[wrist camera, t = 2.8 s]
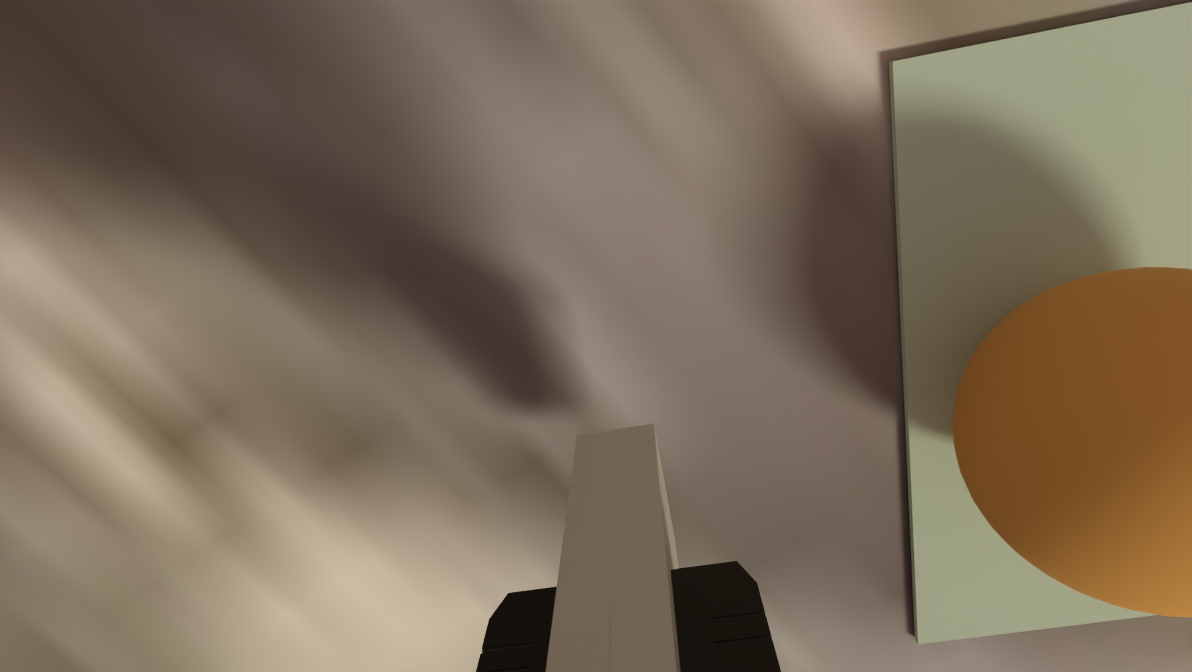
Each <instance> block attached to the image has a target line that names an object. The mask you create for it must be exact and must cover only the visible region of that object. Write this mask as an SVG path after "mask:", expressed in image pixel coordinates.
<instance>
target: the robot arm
mask: <svg viewBox="0 0 1192 672" xmlns="http://www.w3.org/2000/svg"><path fill="white" fill-rule="evenodd" d="M476 672H781V670H780V666H779V663H778V659H777V655H776V652H775V648H774V644H773V641H772V638H771V633H770V629H769V626H768V622H767V618H766V616H765V611H764V607H763V603H762V600H761V596H760V592H759V589H758V585H757V582H756V581H755V580H754V579H753V578H752V577H751V576H750V575H749V574H748V573H747V572H746V571H745V570H744V568H743V567H742V566H741V565H740V564H739V563H738V562H737V561H733V562H726V563H718V564H710V565H703V566H695V567H687V568H680V569H678V562H677V553H676V545H675V538H674V533H673V527H672V521H671V516H670V510H669V505H668V499H667V494H666V488H665V483H664V477H663V472H662V466H661V460H660V455H659V449H658V444H657V438H656V433H655V427H654V424H648V425H642V426H635V427H629V428H622V429H615V430H609V431H602V432H596V433H589V434H583V435H577V438H576V446H575V454H574V461H573V469H572V476H571V484H570V491H569V499H568V506H567V514H566V521H565V529H564V537H563V544H562V552H561V559H560V567H559V574H558V582H557V587H551V588H543V589H536V590H528V591H520V592H513V593H508V594H507V596H506V597H505V598H504V600H503V601H502V603H501V604H500V605H499V607H498V608H497V609H496V611H495V612H494V614H493V615H492V616H491V618H490V619H489V622H488V626H487V630H486V634H485V638H484V642H483V646H482V654H480V658H479V662H478V666H477V670H476Z"/></svg>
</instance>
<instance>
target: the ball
mask: <svg viewBox="0 0 1192 672" xmlns="http://www.w3.org/2000/svg"><path fill="white" fill-rule="evenodd" d="M952 430H953V441H954V448H955V453H956V458H957V461H958V465H959V469H960V473H961V475H962V477H963V479H964V482H965V484H966V486H967V488H968V491H969V493H970V495H971V497H972V499H973V501H974V502H975V504H976V505H977V507H978V508H979V510H980V512H981V513H982V514H983V516H984V517H985V519H986V520H987V521H988V523H989V524H990V526H991V527H992V528H993V529H994V530H995V531H996V532H997V533H998V534H999V536H1000V537H1001V538H1002V539H1003V540H1004V541H1005V542H1006V543H1007V544H1008V545H1009V546H1010V547H1011V548H1012V549H1013V550H1014V551H1015V552H1017V553H1018V554H1019V555H1020V556H1022V557H1023V558H1024V559H1026V560H1027V561H1028V562H1029V563H1031V564H1032V565H1033V566H1035V567H1036V568H1038V569H1039V570H1040V571H1042V572H1043V573H1045V574H1046V575H1048V576H1050V577H1052V578H1053V579H1055V580H1057V581H1059V582H1060V583H1062V584H1064V585H1066V586H1068V587H1070V588H1072V589H1074V590H1076V591H1078V592H1080V593H1082V594H1085V595H1087V596H1090V597H1092V598H1095V599H1098V600H1101V601H1104V602H1106V603H1109V604H1112V605H1115V606H1119V607H1123V608H1127V609H1130V610H1134V611H1140V612H1145V613H1151V614H1157V615H1164V616H1171V617H1192V269H1187V268H1171V267H1140V268H1130V269H1121V270H1112V271H1105V272H1101V273H1097V274H1092V275H1088V276H1084V277H1081V278H1078V279H1075V280H1073V281H1070V282H1067V283H1064V284H1061V285H1058V286H1056V287H1053V288H1051V289H1049V290H1047V291H1045V292H1043V293H1041V294H1039V295H1037V296H1035V297H1034V298H1032V299H1030V300H1029V301H1027V302H1025V303H1024V304H1022V305H1021V306H1019V307H1018V308H1017V309H1015V310H1014V311H1013V312H1011V313H1010V314H1009V315H1008V316H1006V317H1005V318H1004V319H1003V320H1002V321H1001V322H1000V323H999V324H998V325H997V326H996V327H995V328H994V329H993V330H992V331H991V332H990V333H989V334H988V335H987V337H986V338H985V339H984V340H983V341H982V342H981V344H980V345H979V347H978V348H977V350H976V351H975V353H974V354H973V356H972V357H971V359H970V361H969V363H968V365H967V367H966V369H965V371H964V373H963V375H962V378H961V381H960V383H959V386H958V389H957V393H956V398H955V403H954V412H953V429H952Z"/></svg>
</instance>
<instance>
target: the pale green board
mask: <svg viewBox="0 0 1192 672" xmlns="http://www.w3.org/2000/svg"><path fill="white" fill-rule="evenodd" d="M889 78H890V100H891V122H892V144H893V166H894V189H895V211H896V233H897V255H898V277H899V299H900V322H901V344H902V366H903V388H904V410H905V432H906V455H907V477H908V499H909V521H910V543H911V565H912V587H913V610H914V632H915V640H916V642H917V643H918V644H925V643H933V642H941V641H949V640H957V639H966V638H974V637H982V636H990V635H998V634H1006V633H1014V632H1022V631H1031V630H1039V629H1047V628H1055V627H1063V626H1071V625H1079V624H1087V623H1096V622H1104V621H1112V620H1120V619H1128V618H1136V617H1144V616H1153V615H1157V614H1151V613H1145V612H1140V611H1134V610H1130V609H1127V608H1123V607H1119V606H1115V605H1112V604H1109V603H1106V602H1104V601H1101V600H1098V599H1095V598H1092V597H1090V596H1087V595H1085V594H1082V593H1080V592H1078V591H1076V590H1074V589H1072V588H1070V587H1068V586H1066V585H1064V584H1062V583H1060V582H1059V581H1057V580H1055V579H1053V578H1052V577H1050V576H1048V575H1046V574H1045V573H1043V572H1042V571H1040V570H1039V569H1038V568H1036V567H1035V566H1033V565H1032V564H1031V563H1029V562H1028V561H1027V560H1026V559H1024V558H1023V557H1022V556H1020V555H1019V554H1018V553H1017V552H1015V551H1014V550H1013V549H1012V548H1011V547H1010V546H1009V545H1008V544H1007V543H1006V542H1005V541H1004V540H1003V539H1002V538H1001V537H1000V536H999V534H998V533H997V532H996V531H995V530H994V529H993V528H992V527H991V526H990V524H989V523H988V521H987V520H986V519H985V517H984V516H983V514H982V513H981V512H980V510H979V508H978V507H977V505H976V504H975V502H974V501H973V499H972V497H971V495H970V493H969V491H968V488H967V486H966V484H965V482H964V479H963V477H962V475H961V473H960V469H959V465H958V461H957V458H956V453H955V448H954V441H953V430H952V429H953V412H954V403H955V398H956V393H957V389H958V386H959V383H960V381H961V378H962V375H963V373H964V371H965V369H966V367H967V365H968V363H969V361H970V359H971V357H972V356H973V354H974V353H975V351H976V350H977V348H978V347H979V345H980V344H981V342H982V341H983V340H984V339H985V338H986V337H987V335H988V334H989V333H990V332H991V331H992V330H993V329H994V328H995V327H996V326H997V325H998V324H999V323H1000V322H1001V321H1002V320H1003V319H1004V318H1005V317H1006V316H1008V315H1009V314H1010V313H1011V312H1013V311H1014V310H1015V309H1017V308H1018V307H1019V306H1021V305H1022V304H1024V303H1025V302H1027V301H1029V300H1030V299H1032V298H1034V297H1035V296H1037V295H1039V294H1041V293H1043V292H1045V291H1047V290H1049V289H1051V288H1053V287H1056V286H1058V285H1061V284H1064V283H1067V282H1070V281H1073V280H1075V279H1078V278H1081V277H1084V276H1088V275H1092V274H1097V273H1101V272H1105V271H1112V270H1121V269H1130V268H1140V267H1171V268H1187V269H1192V2H1188V3H1183V4H1178V5H1173V6H1168V7H1163V8H1158V9H1153V10H1148V11H1143V12H1138V13H1133V14H1128V15H1122V16H1117V17H1112V18H1107V19H1102V20H1097V21H1092V22H1087V23H1082V24H1077V25H1072V26H1067V27H1062V28H1057V29H1052V30H1047V31H1042V32H1037V33H1032V34H1027V35H1022V36H1017V37H1012V38H1007V39H1002V40H996V41H991V42H986V43H981V44H976V45H971V46H966V47H961V48H956V49H951V50H946V51H941V52H936V53H931V54H926V55H921V56H916V57H911V58H906V59H901V60H896V61H891V62H889Z"/></svg>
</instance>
